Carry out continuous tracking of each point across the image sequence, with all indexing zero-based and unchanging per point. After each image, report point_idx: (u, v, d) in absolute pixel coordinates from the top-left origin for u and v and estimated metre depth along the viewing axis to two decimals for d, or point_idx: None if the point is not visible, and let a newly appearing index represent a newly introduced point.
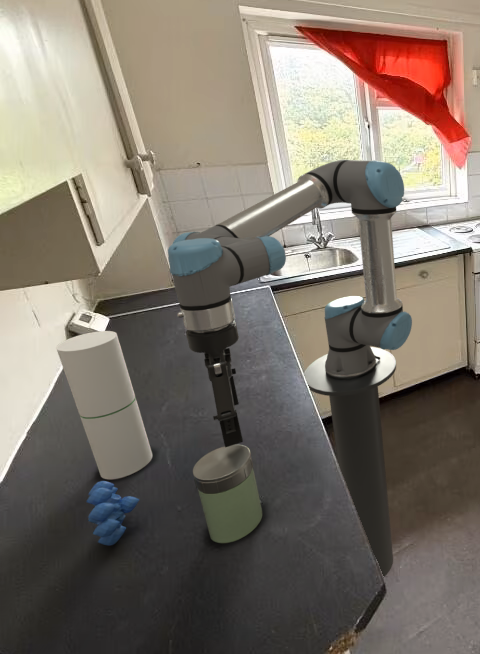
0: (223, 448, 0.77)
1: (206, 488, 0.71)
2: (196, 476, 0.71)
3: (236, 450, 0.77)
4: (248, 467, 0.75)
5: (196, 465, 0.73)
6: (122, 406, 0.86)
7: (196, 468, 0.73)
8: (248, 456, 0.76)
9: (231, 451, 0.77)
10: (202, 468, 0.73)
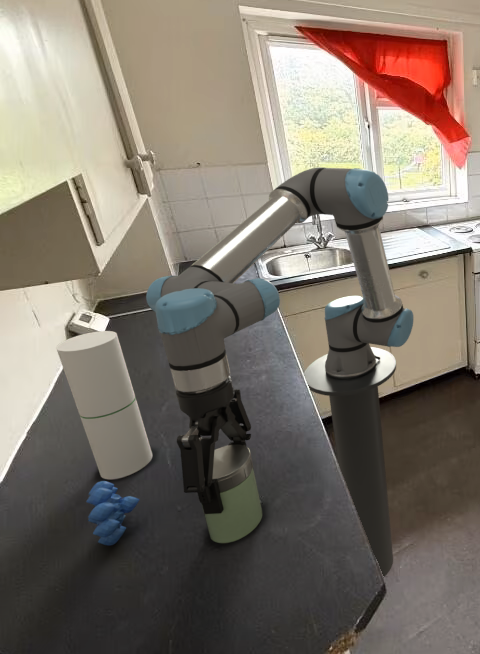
0: (223, 448, 0.77)
1: None
2: None
3: (236, 450, 0.77)
4: (248, 467, 0.75)
5: None
6: (122, 406, 0.86)
7: None
8: (248, 456, 0.76)
9: (231, 451, 0.77)
10: None
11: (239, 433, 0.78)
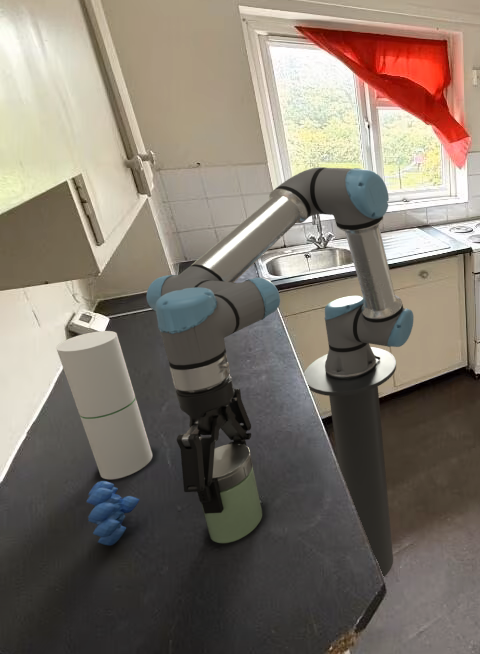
0: (221, 473, 0.71)
1: None
2: (245, 446, 0.78)
3: None
4: None
5: (247, 455, 0.75)
6: (122, 406, 0.86)
7: (246, 452, 0.76)
8: None
9: None
10: (240, 453, 0.76)
11: None
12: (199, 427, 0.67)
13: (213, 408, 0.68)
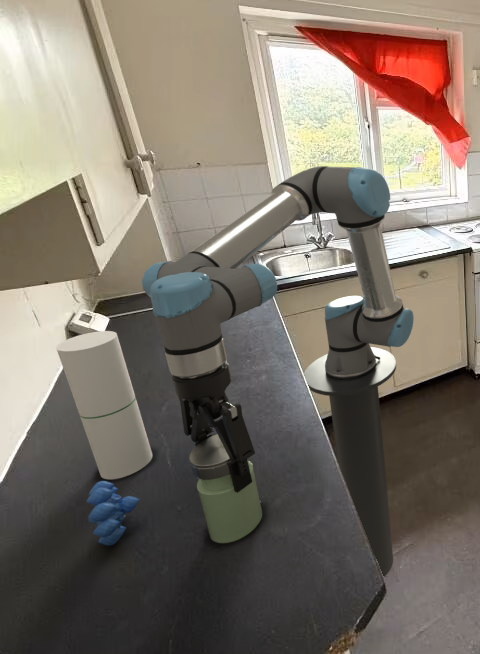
0: None
1: None
2: None
3: (222, 456, 0.72)
4: (194, 470, 0.70)
5: None
6: (122, 406, 0.86)
7: None
8: (198, 464, 0.70)
9: (226, 452, 0.72)
10: None
11: (225, 448, 0.70)
12: None
13: (230, 381, 0.71)
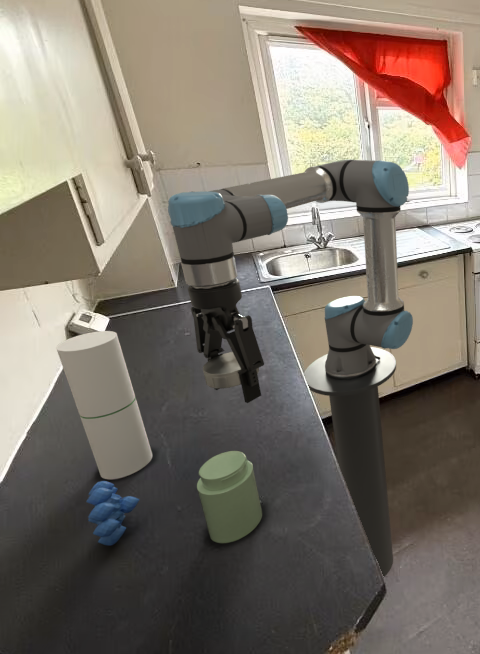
0: None
1: None
2: (230, 352, 0.82)
3: (234, 367, 0.77)
4: (208, 379, 0.76)
5: None
6: (122, 406, 0.86)
7: None
8: (211, 373, 0.75)
9: (237, 365, 0.78)
10: None
11: (236, 358, 0.76)
12: None
13: (241, 297, 0.76)
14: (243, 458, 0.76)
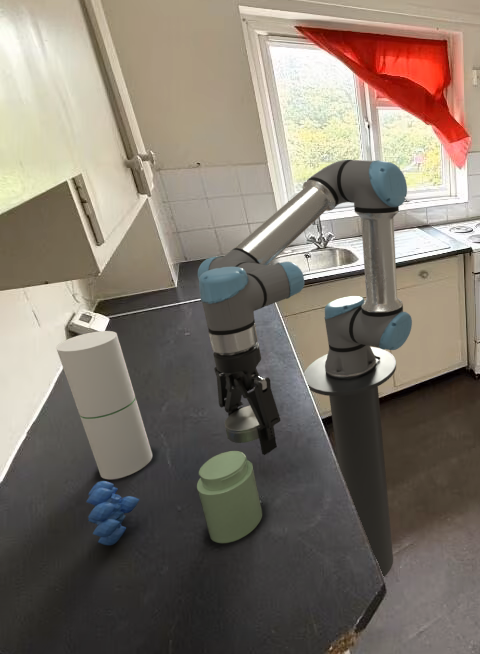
0: None
1: None
2: (249, 406, 0.90)
3: (253, 423, 0.85)
4: (229, 434, 0.83)
5: None
6: (122, 406, 0.86)
7: None
8: (233, 429, 0.83)
9: (255, 420, 0.85)
10: None
11: (255, 415, 0.83)
12: (258, 377, 0.82)
13: (260, 359, 0.84)
14: (243, 458, 0.76)
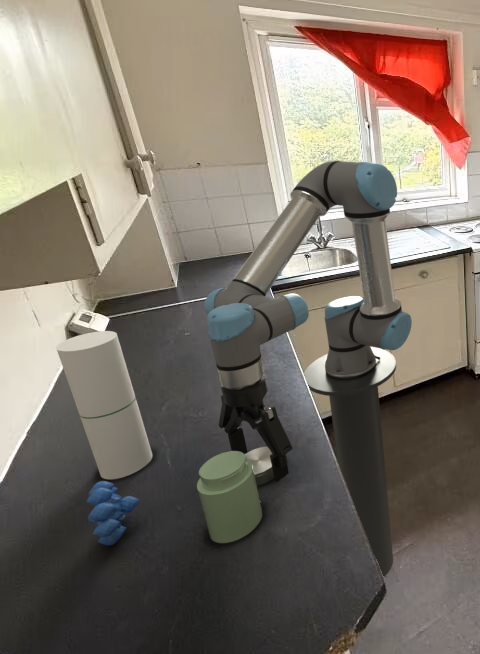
0: None
1: None
2: (257, 448, 0.93)
3: (261, 467, 0.88)
4: None
5: None
6: (122, 406, 0.86)
7: None
8: None
9: (264, 464, 0.89)
10: (263, 450, 0.93)
11: (267, 445, 0.85)
12: (264, 408, 0.85)
13: (266, 392, 0.86)
14: (243, 458, 0.76)
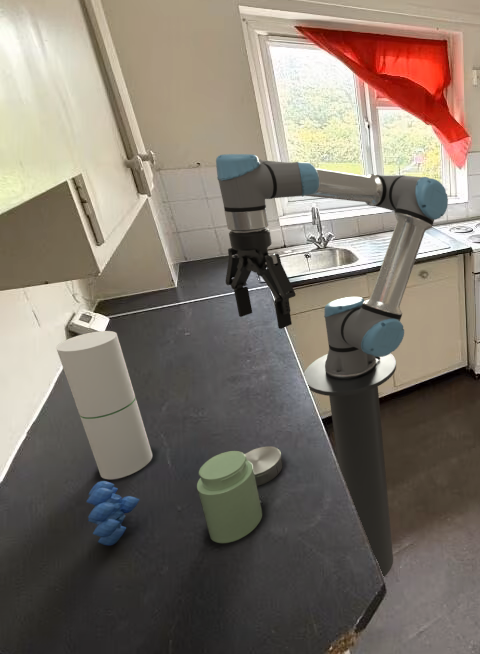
0: (275, 460, 0.90)
1: None
2: (257, 448, 0.93)
3: (261, 467, 0.88)
4: None
5: (272, 447, 0.94)
6: (122, 406, 0.86)
7: (268, 447, 0.93)
8: None
9: (264, 464, 0.89)
10: (263, 450, 0.93)
11: (271, 290, 0.90)
12: None
13: (271, 243, 0.92)
14: (243, 458, 0.76)
